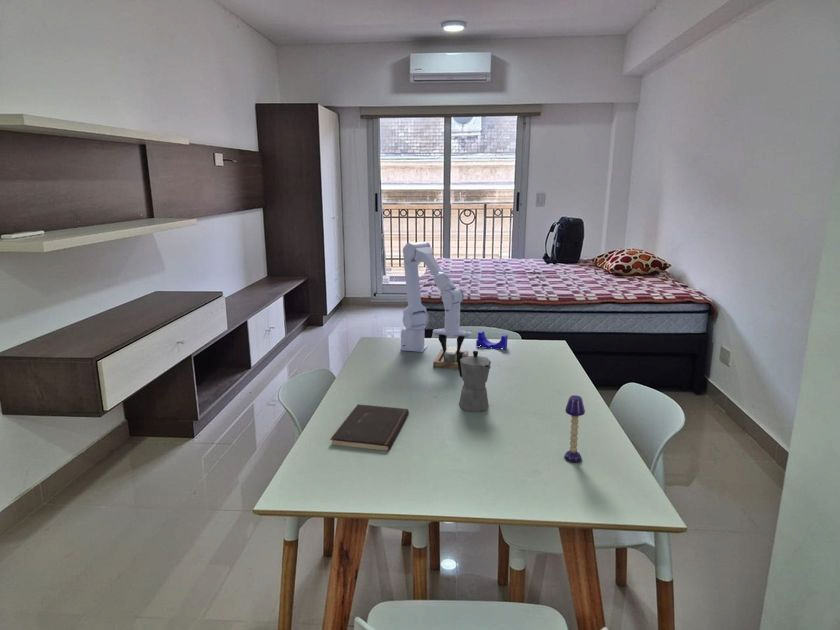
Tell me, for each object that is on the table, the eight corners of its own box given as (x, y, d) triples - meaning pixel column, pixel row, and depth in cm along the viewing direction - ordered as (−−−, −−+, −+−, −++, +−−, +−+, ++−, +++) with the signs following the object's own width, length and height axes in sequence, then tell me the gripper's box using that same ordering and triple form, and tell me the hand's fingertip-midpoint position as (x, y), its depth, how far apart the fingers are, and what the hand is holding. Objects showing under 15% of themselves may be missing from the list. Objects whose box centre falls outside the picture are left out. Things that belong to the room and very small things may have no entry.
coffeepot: (499, 410, 164) (502, 354, 160) (475, 417, 159) (477, 359, 155) (468, 393, 177) (469, 341, 172) (444, 399, 172) (445, 346, 167)
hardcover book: (330, 446, 142) (330, 438, 142) (357, 411, 164) (357, 404, 164) (388, 453, 139) (388, 445, 139) (408, 416, 161) (408, 409, 161)
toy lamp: (567, 464, 133) (573, 401, 129) (558, 455, 138) (562, 394, 134) (584, 461, 135) (590, 399, 131) (574, 452, 139) (579, 392, 135)
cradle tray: (433, 367, 201) (433, 362, 201) (441, 353, 216) (441, 349, 216) (462, 369, 199) (462, 364, 198) (468, 356, 214) (468, 351, 213)
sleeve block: (448, 356, 212) (448, 346, 211) (458, 356, 212) (458, 346, 211) (443, 364, 203) (443, 353, 202) (454, 364, 202) (454, 354, 201)
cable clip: (476, 346, 226) (476, 333, 225) (480, 344, 230) (480, 330, 229) (503, 351, 221) (503, 337, 219) (506, 348, 224) (507, 334, 223)
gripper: (431, 321, 201) (430, 355, 205) (469, 324, 198) (468, 358, 202) (435, 316, 208) (434, 350, 211) (472, 319, 205) (471, 353, 208)
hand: (451, 354), depth 207 cm, fingers open, 4 cm apart
